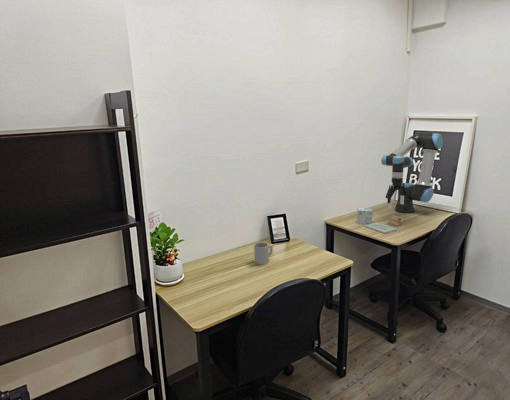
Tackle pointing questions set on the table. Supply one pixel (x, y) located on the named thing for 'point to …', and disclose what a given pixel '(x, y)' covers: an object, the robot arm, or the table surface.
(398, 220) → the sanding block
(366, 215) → the light bulb box
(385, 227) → the board
